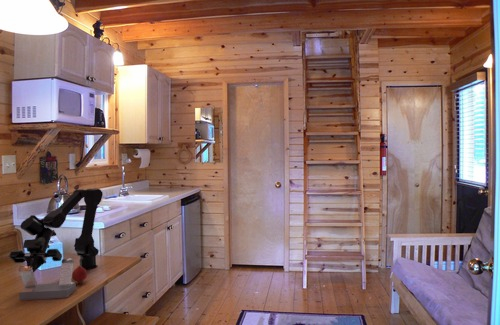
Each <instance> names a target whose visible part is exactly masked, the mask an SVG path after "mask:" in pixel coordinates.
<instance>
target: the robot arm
mask: <svg viewBox="0 0 500 325" xmlns="http://www.w3.org/2000/svg"><path fill="white" fill-rule="evenodd" d="M103 195H104V194H103V191H102V190H101V188H87V189H80V188H79V189H77V188H76V189H75V190H73V192H72V193H71V194H70V195H69V196H68V197H67V199H65V200H64V202H63V203H62V204H61V205H59V207H58V208H56V209H54V210H52V211H50V212H49V213H47V214H46V215H45V216H44V217H43V218H41V219H40V218H38V217H37V216H36V215H35V214H34V215H33V214H32V215H30V216H29V217H27V218H26V219H24V220H23V221H22V222H21V223H20V229H21V230H23V231H24V232H26V233H27V234H29V235H30V236H35V237H34V239H24V242H23V246H22V248H23V249H26V251H27V252H24V251H23V250H12V251H11V252H10V253H9V255H8V257H9V258H10V259H11V260H12V262H14V263H15V264H20V263H21V264H23V263H25V262H26V266H32V270H33V273H34V274H35V272H36V271H37V270H38V269H39V268H40V267H41V266H43V265H44V264H46V263H47V259H48V258H51V260H52V261H53V262H62V259H63V254H62V253H61V252H60V250H59V248H51V249H50V241H51V239H52V237H56V236H57V233H56V231H55V230H54V229H58V228H61V227H62V226H63V224H64V223H65V221H66V219H67V216H68V214H69V213H70V212H71V211H72V210H73V209H74V208H75V207H76V206H77V205H78V204H79V203H80V201H81V200H83V201H84V204H85V209H84V210H85V211H84V216H83V221H82V228H81V233H80V236H79V237H75V239H74V245H73V247H74V251H75V252H76V254H77V256H78V257H80V258H79V262H78V263H79V265H80V266H81V267H83V268H84V269H85V270H86V271H88V270H91V269H94V268H95V269H96V268H97V267H98V265H97V259H96V258H97V257H96V256H97V255H98V254H99V251H100V250H99V249H98V248H97V247H96V246H95V240H94V238H93V230H94V226H95V218H96V212H97V207H98V206H99V205H100V203H101V202H102V198H103V197H104V196H103Z"/></svg>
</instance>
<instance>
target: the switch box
mask: <svg viewBox="0 0 500 325" xmlns="http://www.w3.org/2000/svg"><path fill="white" fill-rule="evenodd" d="M76 283H77V282H76V281H71V284H67V285H59V282H58V283H41V284H40V283H39V284H38V283H37V286H36V287H35V288H25V287H24V289H22V290H20V291H19V293H18V296H19V297H18V298H19V301H27V300H28V301H29V300H30V301H31V300H32V301H34V300H51V299H62V298H63V299H65V298H68V297H70V296H71V295H72V294H73V293H74V292H75V291H76V289H77V287H76V286H77V285H76ZM69 295H70V296H69Z"/></svg>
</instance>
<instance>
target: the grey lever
mask: <svg viewBox="0 0 500 325" xmlns="http://www.w3.org/2000/svg"><path fill="white" fill-rule="evenodd" d="M74 260H75V259H74V258H61V266H60V274H59V282H58V283H59V285H67V284H71V282H72V280H73V278H72V273H73V271H74V269H73V268H74V262H75V261H74Z"/></svg>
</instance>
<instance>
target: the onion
mask: <svg viewBox="0 0 500 325" xmlns="http://www.w3.org/2000/svg"><path fill="white" fill-rule="evenodd" d="M87 271H88V270H85V269H84V268H83V267H81V266H80V264H77V267H76V268H74V269H73V270H72V280H73V282H76V283H77V284H82V282H84V281H85V280H86V279H87V276H88V273H87Z"/></svg>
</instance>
